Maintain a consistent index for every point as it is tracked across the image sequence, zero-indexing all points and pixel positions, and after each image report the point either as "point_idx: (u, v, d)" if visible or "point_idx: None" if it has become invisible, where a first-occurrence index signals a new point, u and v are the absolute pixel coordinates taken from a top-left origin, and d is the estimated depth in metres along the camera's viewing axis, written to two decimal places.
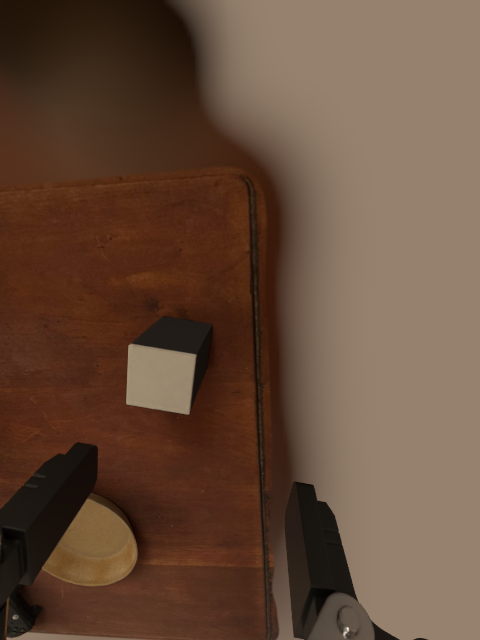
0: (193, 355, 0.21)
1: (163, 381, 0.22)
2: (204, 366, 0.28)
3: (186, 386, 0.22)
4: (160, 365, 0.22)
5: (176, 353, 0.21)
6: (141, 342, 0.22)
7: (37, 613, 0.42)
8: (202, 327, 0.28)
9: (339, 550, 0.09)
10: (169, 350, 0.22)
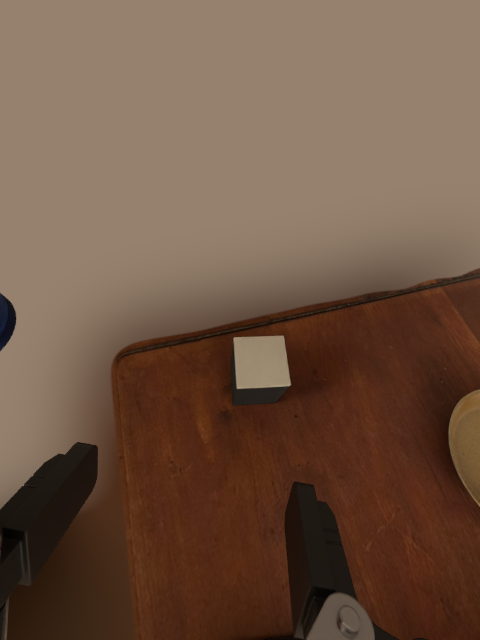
0: None
1: (260, 357, 0.28)
2: None
3: (259, 340, 0.29)
4: (247, 361, 0.28)
5: (234, 351, 0.28)
6: None
7: None
8: (231, 365, 0.34)
9: (339, 550, 0.09)
10: (234, 357, 0.28)
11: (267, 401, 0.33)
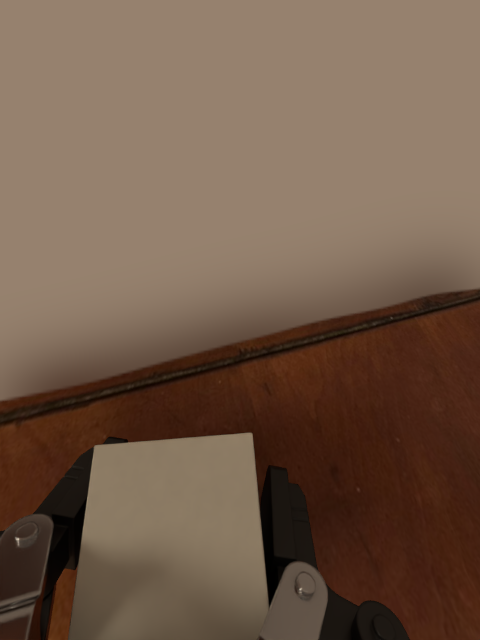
0: (94, 451, 0.09)
1: (172, 521, 0.08)
2: None
3: (176, 453, 0.09)
4: (124, 540, 0.08)
5: (87, 498, 0.09)
6: None
7: None
8: None
9: (305, 526, 0.10)
10: (86, 521, 0.08)
11: None
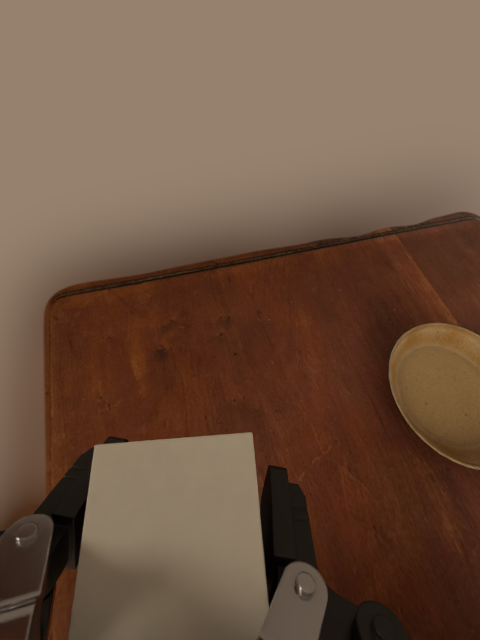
0: (94, 451, 0.09)
1: (172, 520, 0.08)
2: None
3: (176, 452, 0.09)
4: (124, 539, 0.08)
5: (87, 498, 0.09)
6: None
7: None
8: None
9: (305, 526, 0.10)
10: (86, 520, 0.08)
11: None
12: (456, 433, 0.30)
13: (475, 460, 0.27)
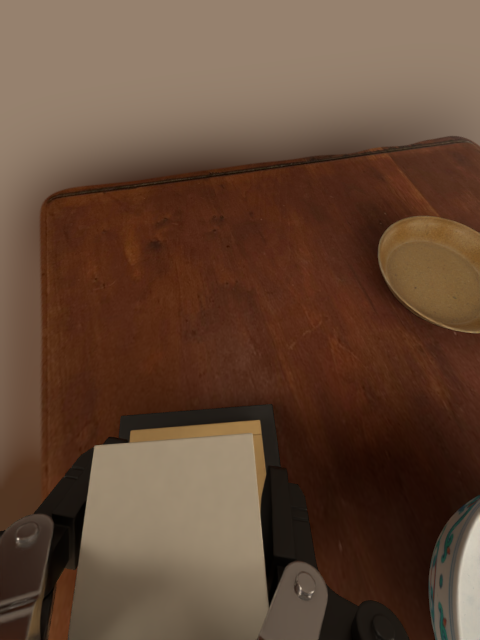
0: (94, 451, 0.09)
1: (172, 521, 0.08)
2: None
3: (176, 453, 0.09)
4: (124, 540, 0.08)
5: (87, 498, 0.09)
6: None
7: None
8: None
9: (305, 526, 0.10)
10: (86, 521, 0.08)
11: None
12: (444, 312, 0.30)
13: (462, 329, 0.28)
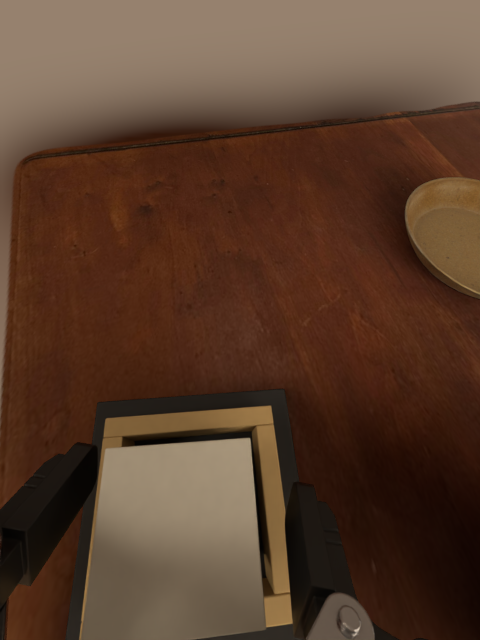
0: (105, 454, 0.10)
1: (176, 518, 0.09)
2: None
3: (180, 456, 0.10)
4: (133, 535, 0.09)
5: (99, 497, 0.09)
6: None
7: None
8: None
9: (339, 550, 0.09)
10: (98, 517, 0.09)
11: None
12: None
13: None
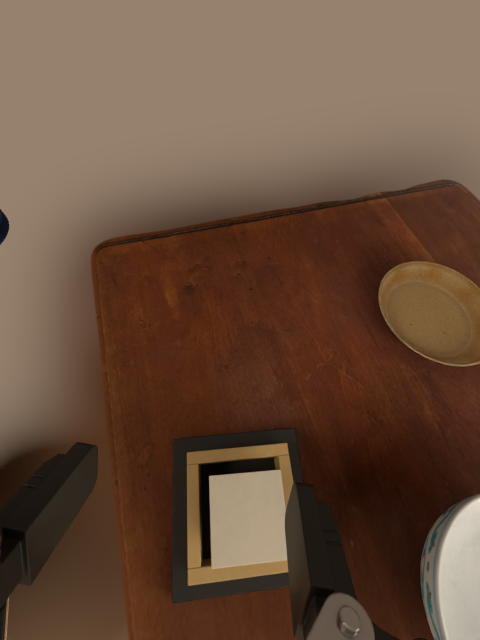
0: (209, 478, 0.20)
1: (247, 510, 0.19)
2: None
3: (246, 479, 0.20)
4: (228, 518, 0.19)
5: None
6: None
7: None
8: None
9: (339, 550, 0.09)
10: (210, 510, 0.19)
11: None
12: (435, 345, 0.36)
13: (450, 362, 0.34)
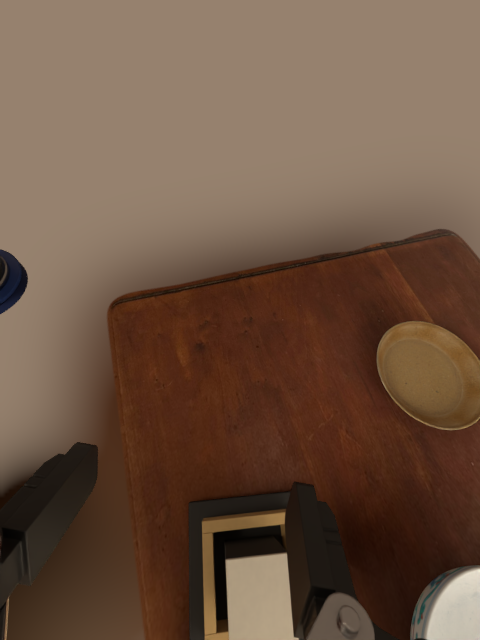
0: (225, 562, 0.23)
1: (259, 593, 0.22)
2: (262, 540, 0.28)
3: (258, 563, 0.23)
4: (243, 601, 0.22)
5: (226, 583, 0.22)
6: (228, 631, 0.22)
7: None
8: None
9: (339, 550, 0.09)
10: (227, 592, 0.22)
11: None
12: (428, 405, 0.39)
13: (441, 424, 0.36)
